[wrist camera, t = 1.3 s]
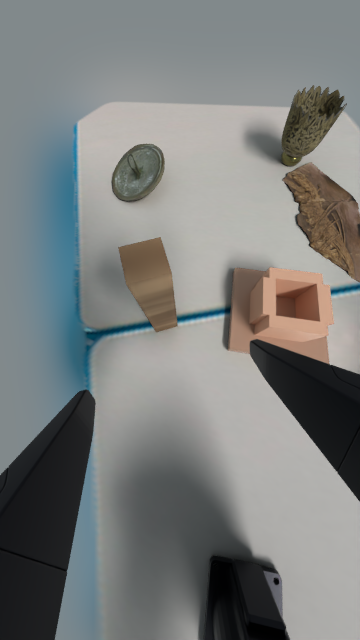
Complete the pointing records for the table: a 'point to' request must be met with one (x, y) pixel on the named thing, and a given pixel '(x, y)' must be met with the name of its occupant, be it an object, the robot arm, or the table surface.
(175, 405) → the table surface
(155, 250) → the brown wooden block
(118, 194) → the lid
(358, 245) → the wooden fragment
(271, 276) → the terracotta holder
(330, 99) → the cup
